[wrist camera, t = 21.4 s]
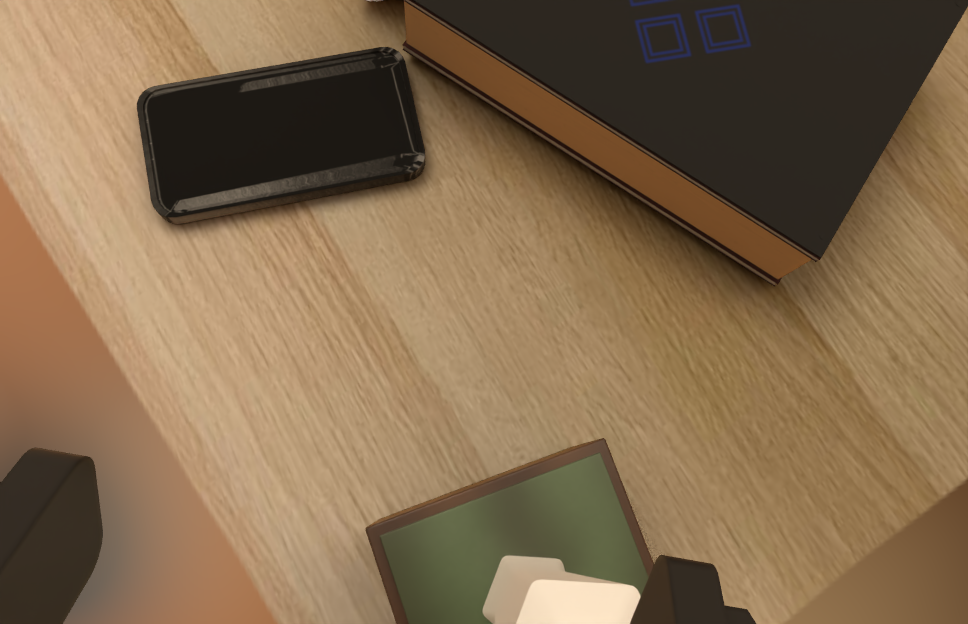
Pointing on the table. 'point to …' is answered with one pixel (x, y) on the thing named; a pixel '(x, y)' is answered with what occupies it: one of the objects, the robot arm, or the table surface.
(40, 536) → the robot arm
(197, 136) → the phone
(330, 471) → the table surface
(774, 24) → the book
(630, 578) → the stand
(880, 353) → the table surface
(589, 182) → the table surface
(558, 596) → the cream faceted bottle shape
